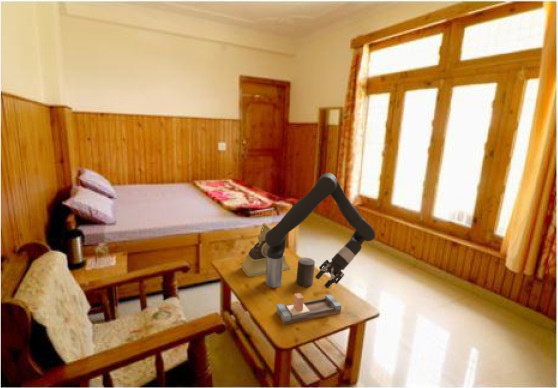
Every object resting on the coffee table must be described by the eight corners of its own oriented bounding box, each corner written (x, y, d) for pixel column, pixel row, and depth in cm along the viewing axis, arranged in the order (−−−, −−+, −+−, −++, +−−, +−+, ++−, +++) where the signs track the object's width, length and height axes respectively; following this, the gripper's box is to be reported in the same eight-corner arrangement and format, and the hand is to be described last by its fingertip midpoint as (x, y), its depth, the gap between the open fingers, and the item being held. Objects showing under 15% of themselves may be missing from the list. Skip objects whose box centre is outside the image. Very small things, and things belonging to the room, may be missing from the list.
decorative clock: (248, 277, 173) (250, 229, 167) (241, 267, 185) (242, 222, 178) (290, 269, 186) (293, 224, 180) (280, 260, 197) (283, 218, 191)
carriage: (286, 308, 142) (287, 293, 140) (302, 305, 145) (304, 290, 144) (292, 317, 136) (293, 301, 134) (309, 313, 139) (310, 298, 137)
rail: (276, 311, 142) (276, 304, 141) (329, 301, 153) (330, 294, 152) (284, 324, 133) (284, 316, 132) (340, 312, 144) (341, 305, 143)
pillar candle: (298, 287, 165) (300, 262, 162) (294, 278, 174) (296, 255, 171) (315, 286, 167) (317, 262, 164) (310, 278, 176) (312, 254, 173)
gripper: (331, 247, 149) (309, 271, 147) (347, 259, 136) (324, 285, 134) (339, 256, 152) (318, 279, 150) (356, 268, 139) (333, 294, 137)
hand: (321, 282), depth 142 cm, fingers open, 8 cm apart
